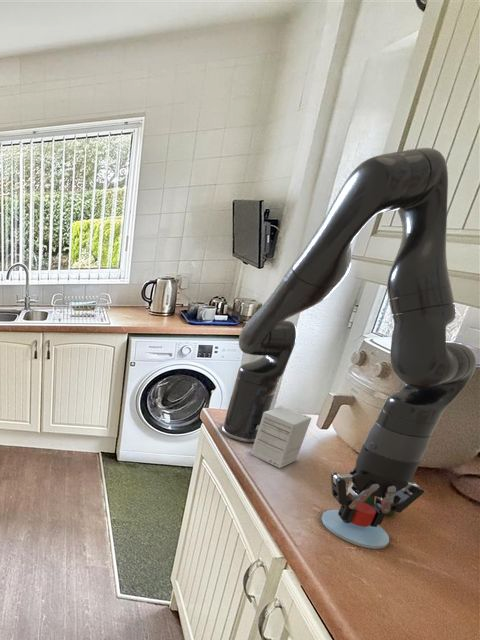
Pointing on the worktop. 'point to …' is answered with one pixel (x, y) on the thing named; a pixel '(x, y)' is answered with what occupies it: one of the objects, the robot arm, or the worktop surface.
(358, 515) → the cap
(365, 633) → the worktop surface
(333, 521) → the saucer
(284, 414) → the white packaging box
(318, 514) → the worktop surface
